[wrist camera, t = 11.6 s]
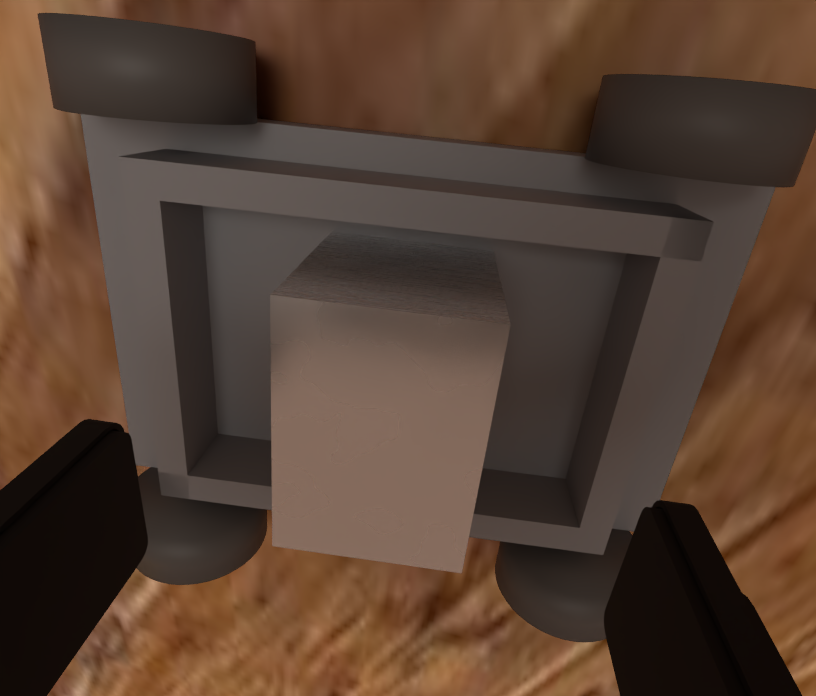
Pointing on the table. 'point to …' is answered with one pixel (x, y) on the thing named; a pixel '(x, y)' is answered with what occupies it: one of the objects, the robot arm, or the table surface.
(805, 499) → the table surface
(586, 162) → the chassis
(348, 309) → the beige block
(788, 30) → the table surface
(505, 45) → the table surface
